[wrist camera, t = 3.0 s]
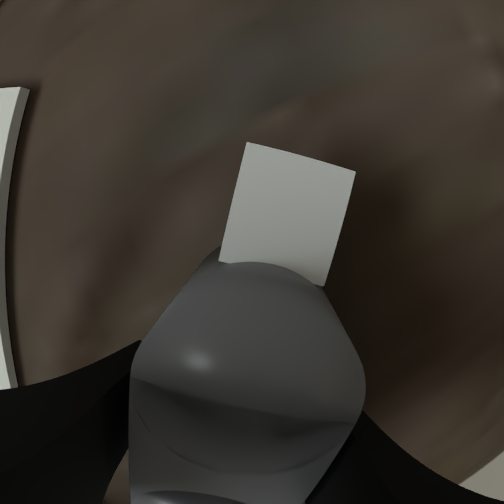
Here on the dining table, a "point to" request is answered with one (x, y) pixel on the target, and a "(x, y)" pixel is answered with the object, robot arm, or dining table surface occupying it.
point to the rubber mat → (3, 149)
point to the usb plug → (251, 351)
